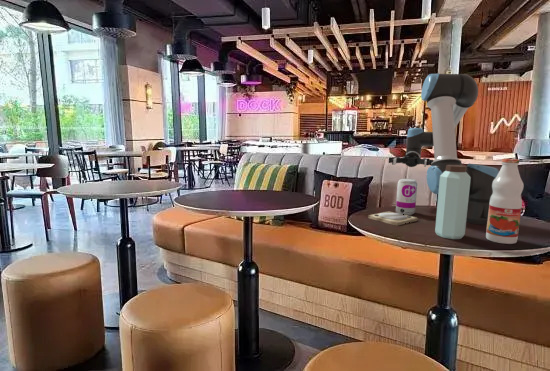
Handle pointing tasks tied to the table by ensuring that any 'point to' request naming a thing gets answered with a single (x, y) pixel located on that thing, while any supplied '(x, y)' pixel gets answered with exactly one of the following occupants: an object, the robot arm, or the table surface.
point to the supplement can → (406, 196)
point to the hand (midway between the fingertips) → (409, 163)
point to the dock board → (392, 218)
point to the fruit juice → (505, 204)
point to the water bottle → (452, 202)
